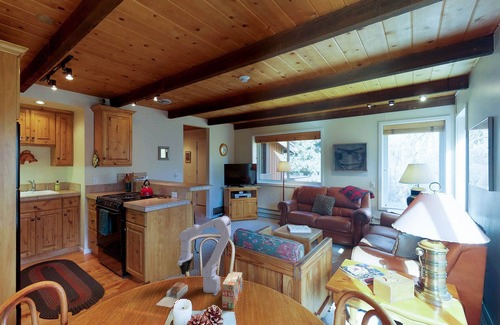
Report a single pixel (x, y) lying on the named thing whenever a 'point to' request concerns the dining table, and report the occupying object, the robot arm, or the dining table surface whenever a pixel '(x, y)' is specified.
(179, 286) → the block
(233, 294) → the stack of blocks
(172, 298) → the chute
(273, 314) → the dining table surface
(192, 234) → the robot arm
